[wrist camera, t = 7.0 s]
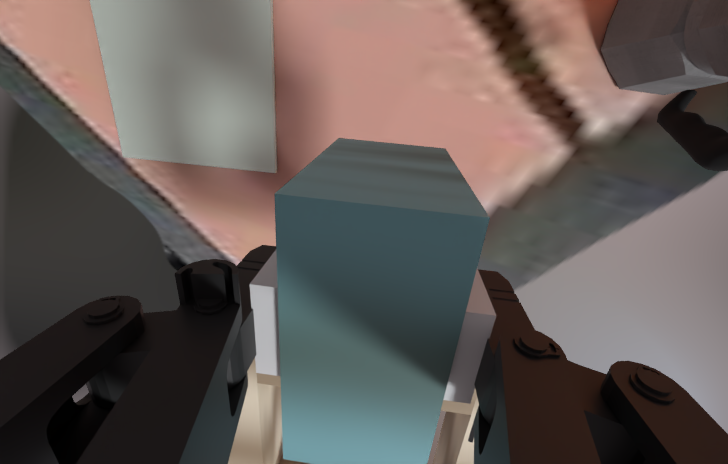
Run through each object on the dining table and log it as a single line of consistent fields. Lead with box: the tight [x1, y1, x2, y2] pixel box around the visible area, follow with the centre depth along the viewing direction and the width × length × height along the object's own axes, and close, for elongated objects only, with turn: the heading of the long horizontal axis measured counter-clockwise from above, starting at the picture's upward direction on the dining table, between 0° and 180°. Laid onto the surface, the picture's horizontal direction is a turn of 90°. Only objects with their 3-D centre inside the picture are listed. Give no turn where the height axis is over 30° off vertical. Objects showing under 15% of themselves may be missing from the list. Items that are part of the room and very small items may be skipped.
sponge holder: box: [228, 138, 490, 464], centre depth 14 cm, size 21×13×7 cm, turn 175°
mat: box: [90, 0, 277, 173], centre depth 30 cm, size 20×16×1 cm
